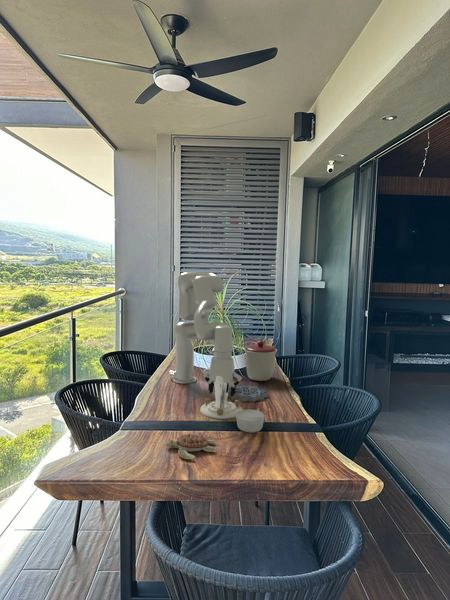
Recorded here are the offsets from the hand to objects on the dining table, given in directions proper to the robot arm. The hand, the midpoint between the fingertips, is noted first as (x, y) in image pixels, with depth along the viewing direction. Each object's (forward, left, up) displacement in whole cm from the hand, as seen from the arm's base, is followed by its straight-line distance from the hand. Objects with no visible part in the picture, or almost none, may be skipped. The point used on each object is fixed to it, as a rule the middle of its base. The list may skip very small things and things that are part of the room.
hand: (221, 394), depth 168 cm
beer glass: (0, 0, -6) cm, 7 cm away
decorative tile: (+4, +24, -8) cm, 26 cm away
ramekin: (+16, -12, -8) cm, 21 cm away
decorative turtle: (+2, -36, -8) cm, 37 cm away
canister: (+3, +53, -7) cm, 54 cm away
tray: (0, 0, -7) cm, 7 cm away
